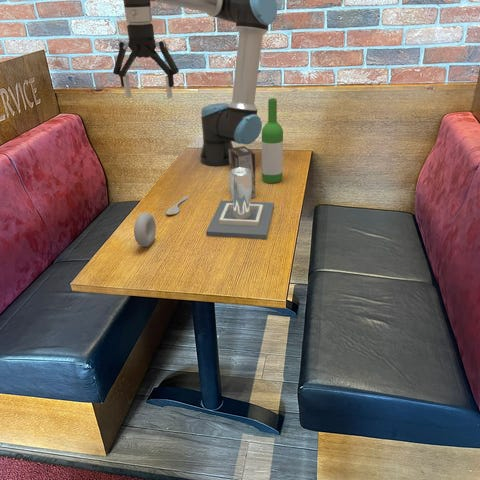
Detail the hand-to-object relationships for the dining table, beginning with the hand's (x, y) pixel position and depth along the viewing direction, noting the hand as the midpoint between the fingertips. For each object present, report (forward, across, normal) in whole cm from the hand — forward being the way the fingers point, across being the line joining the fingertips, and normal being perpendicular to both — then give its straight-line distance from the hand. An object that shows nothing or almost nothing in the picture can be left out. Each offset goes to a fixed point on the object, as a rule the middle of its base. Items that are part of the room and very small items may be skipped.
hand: (149, 97), depth 143 cm
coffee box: (+35, +28, +6) cm, 45 cm away
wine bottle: (+35, +37, +20) cm, 55 cm away
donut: (+35, +6, -32) cm, 48 cm away
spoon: (+35, +8, -4) cm, 36 cm away
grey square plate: (+35, +31, -14) cm, 49 cm away
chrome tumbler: (+33, +31, -14) cm, 48 cm away
